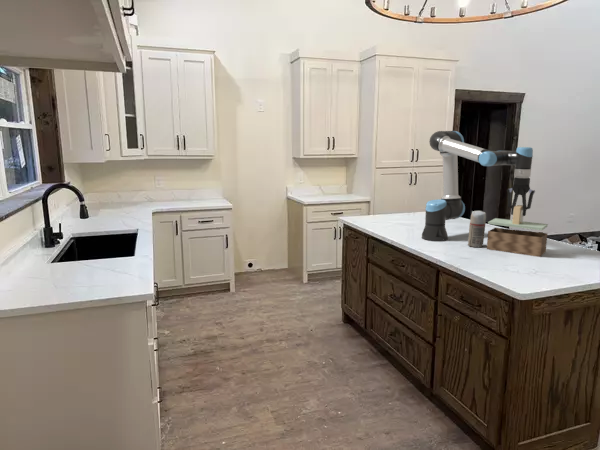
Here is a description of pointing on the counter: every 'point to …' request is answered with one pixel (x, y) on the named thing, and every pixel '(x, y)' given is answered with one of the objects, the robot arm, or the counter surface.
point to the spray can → (477, 229)
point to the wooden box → (517, 241)
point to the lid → (518, 221)
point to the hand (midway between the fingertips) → (517, 221)
